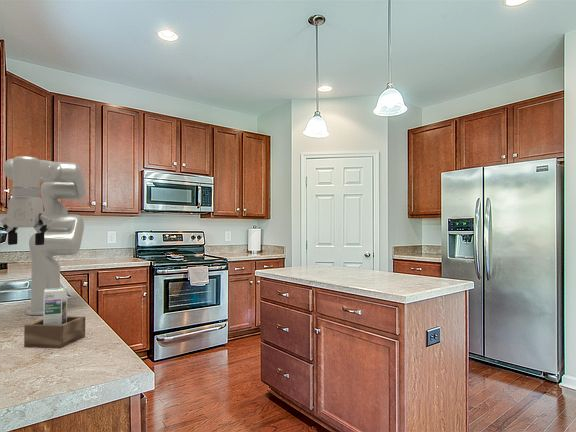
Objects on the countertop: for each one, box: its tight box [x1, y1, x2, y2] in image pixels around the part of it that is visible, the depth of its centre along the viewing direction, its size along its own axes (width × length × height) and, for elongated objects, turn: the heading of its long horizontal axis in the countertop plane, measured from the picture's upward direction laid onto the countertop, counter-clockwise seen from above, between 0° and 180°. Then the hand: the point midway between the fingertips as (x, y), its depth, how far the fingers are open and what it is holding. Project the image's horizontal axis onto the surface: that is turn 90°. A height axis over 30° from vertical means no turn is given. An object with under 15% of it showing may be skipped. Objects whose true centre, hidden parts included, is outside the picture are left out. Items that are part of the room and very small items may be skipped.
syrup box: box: [42, 286, 68, 325], centre depth 110 cm, size 6×6×14 cm
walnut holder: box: [23, 315, 86, 349], centre depth 109 cm, size 11×11×6 cm
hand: (26, 244), depth 124 cm, fingers open, 9 cm apart
